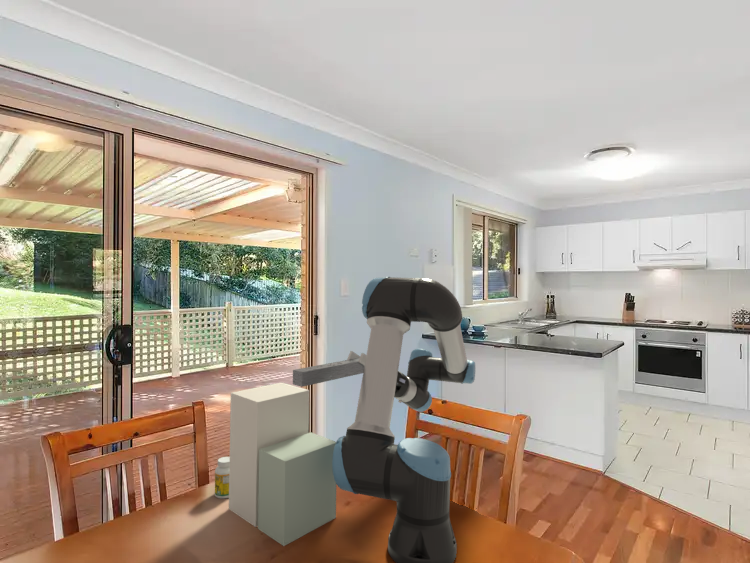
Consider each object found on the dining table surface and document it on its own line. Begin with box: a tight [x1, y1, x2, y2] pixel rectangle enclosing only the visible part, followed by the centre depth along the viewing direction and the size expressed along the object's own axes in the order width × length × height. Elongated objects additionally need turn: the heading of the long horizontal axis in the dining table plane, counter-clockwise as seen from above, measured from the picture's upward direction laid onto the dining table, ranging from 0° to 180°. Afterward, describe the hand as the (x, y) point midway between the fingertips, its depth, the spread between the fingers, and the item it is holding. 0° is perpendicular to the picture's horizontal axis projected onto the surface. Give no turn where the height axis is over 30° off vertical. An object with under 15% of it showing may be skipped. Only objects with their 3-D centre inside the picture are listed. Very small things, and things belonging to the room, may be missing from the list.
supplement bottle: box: [214, 456, 230, 500], centre depth 121 cm, size 5×5×10 cm
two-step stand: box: [228, 382, 337, 547], centre depth 112 cm, size 16×23×30 cm
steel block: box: [292, 358, 365, 388], centre depth 118 cm, size 30×4×4 cm, turn 139°
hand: (355, 356), depth 122 cm, fingers closed on steel block, 3 cm apart
